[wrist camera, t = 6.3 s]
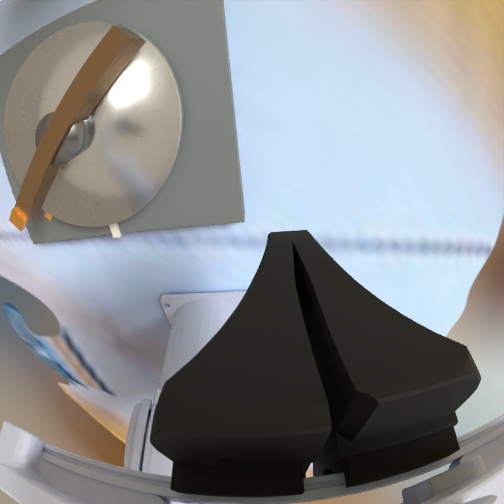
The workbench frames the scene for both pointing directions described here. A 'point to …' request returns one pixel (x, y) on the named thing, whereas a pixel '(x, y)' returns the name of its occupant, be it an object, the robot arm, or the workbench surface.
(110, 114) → the dial
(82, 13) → the stand plate
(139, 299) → the workbench surface
